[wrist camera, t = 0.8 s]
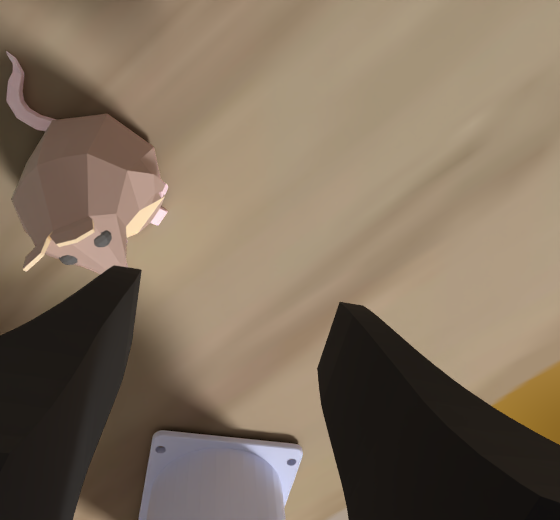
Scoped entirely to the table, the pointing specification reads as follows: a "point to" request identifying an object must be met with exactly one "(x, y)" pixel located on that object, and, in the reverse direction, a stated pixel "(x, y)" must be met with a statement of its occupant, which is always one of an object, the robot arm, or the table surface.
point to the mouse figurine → (84, 186)
